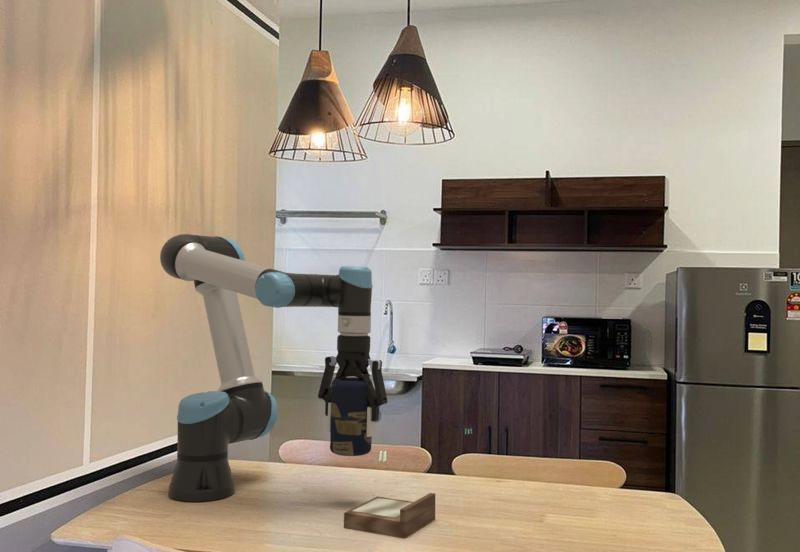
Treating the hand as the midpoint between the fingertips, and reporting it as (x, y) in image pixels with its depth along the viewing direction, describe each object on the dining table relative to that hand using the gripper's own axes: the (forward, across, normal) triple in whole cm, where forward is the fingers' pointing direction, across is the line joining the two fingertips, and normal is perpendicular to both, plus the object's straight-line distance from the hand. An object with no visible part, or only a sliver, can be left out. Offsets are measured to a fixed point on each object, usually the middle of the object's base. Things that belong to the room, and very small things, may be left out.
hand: (351, 433), depth 168 cm
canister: (+5, 0, 0) cm, 5 cm away
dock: (+16, +15, -8) cm, 23 cm away
